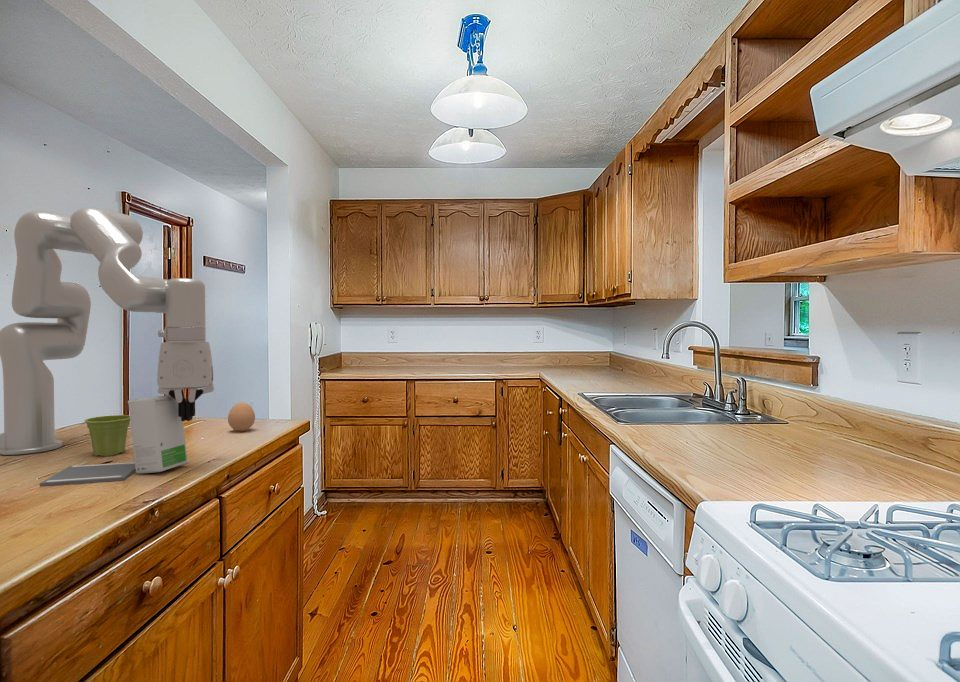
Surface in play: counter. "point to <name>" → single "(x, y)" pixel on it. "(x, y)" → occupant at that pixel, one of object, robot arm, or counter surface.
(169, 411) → the skincare box
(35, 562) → the counter surface
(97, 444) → the plant pot
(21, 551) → the counter surface
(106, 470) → the mat
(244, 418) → the egg
